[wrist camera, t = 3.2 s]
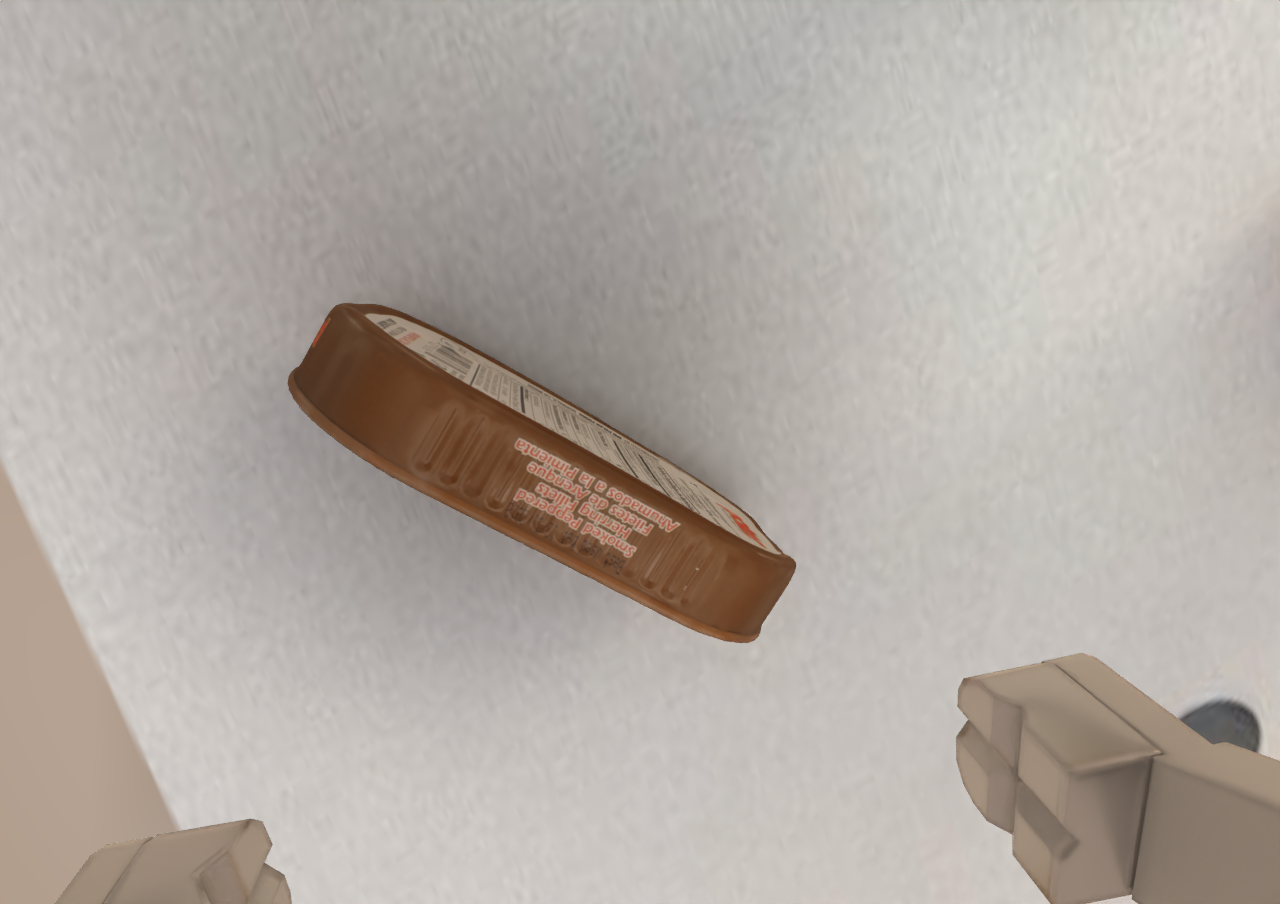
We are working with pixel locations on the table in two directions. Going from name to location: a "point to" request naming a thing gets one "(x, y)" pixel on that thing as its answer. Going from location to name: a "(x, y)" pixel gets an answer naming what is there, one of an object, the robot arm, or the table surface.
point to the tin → (537, 470)
